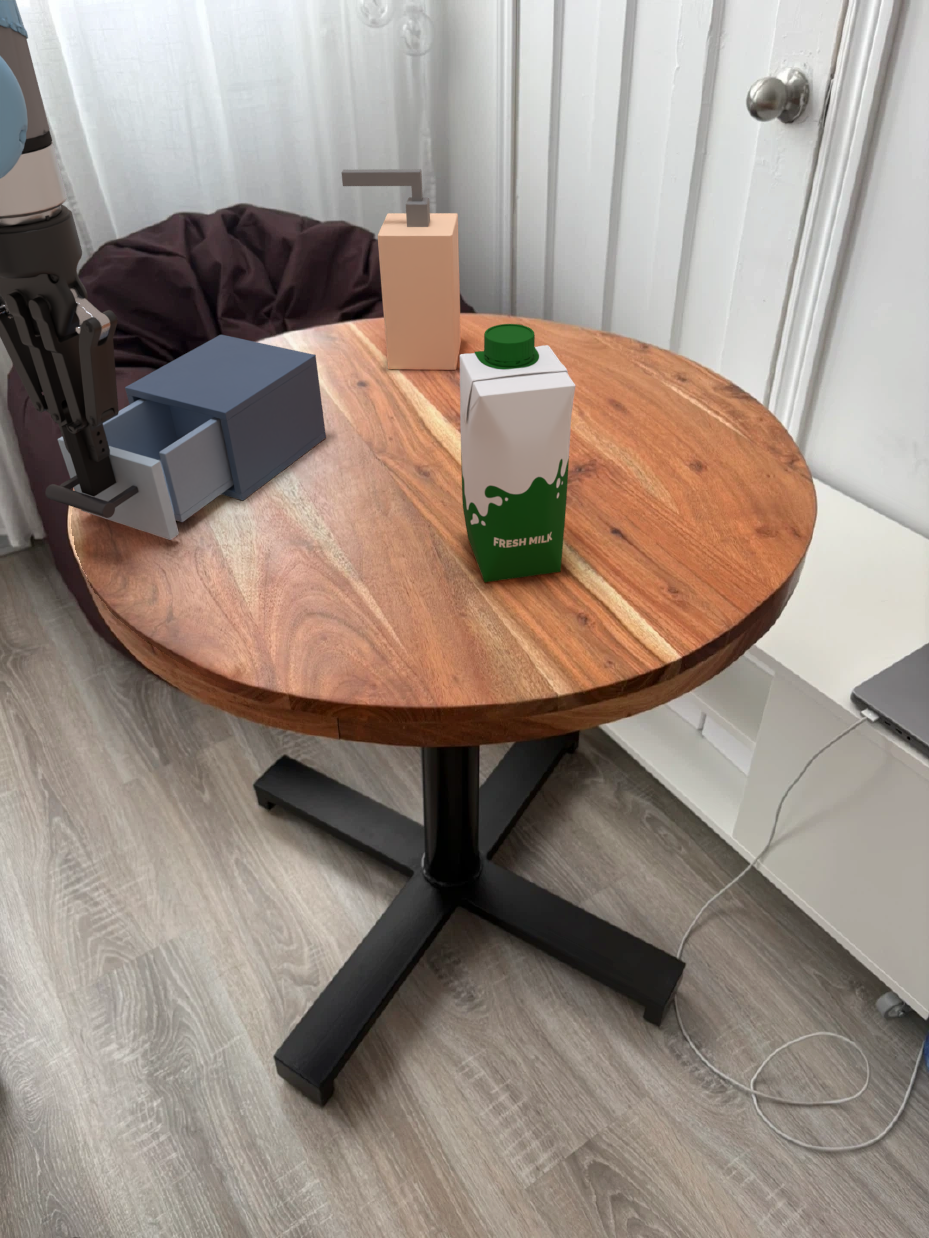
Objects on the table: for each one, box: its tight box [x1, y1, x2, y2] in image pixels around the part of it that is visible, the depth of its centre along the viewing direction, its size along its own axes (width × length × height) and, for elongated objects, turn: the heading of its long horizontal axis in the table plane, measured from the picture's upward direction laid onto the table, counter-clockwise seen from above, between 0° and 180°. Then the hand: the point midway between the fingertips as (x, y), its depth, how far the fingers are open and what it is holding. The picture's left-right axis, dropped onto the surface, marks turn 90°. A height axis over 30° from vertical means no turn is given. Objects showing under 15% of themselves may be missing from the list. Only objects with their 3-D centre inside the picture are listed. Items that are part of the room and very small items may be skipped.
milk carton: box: [459, 323, 577, 583], centre depth 77 cm, size 9×9×20 cm
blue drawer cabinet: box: [124, 334, 327, 502], centre depth 96 cm, size 15×13×10 cm
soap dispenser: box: [341, 168, 462, 371], centre depth 112 cm, size 13×9×22 cm
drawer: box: [45, 398, 234, 541], centre depth 88 cm, size 18×11×8 cm, turn 152°
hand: (99, 487), depth 83 cm, fingers closed
